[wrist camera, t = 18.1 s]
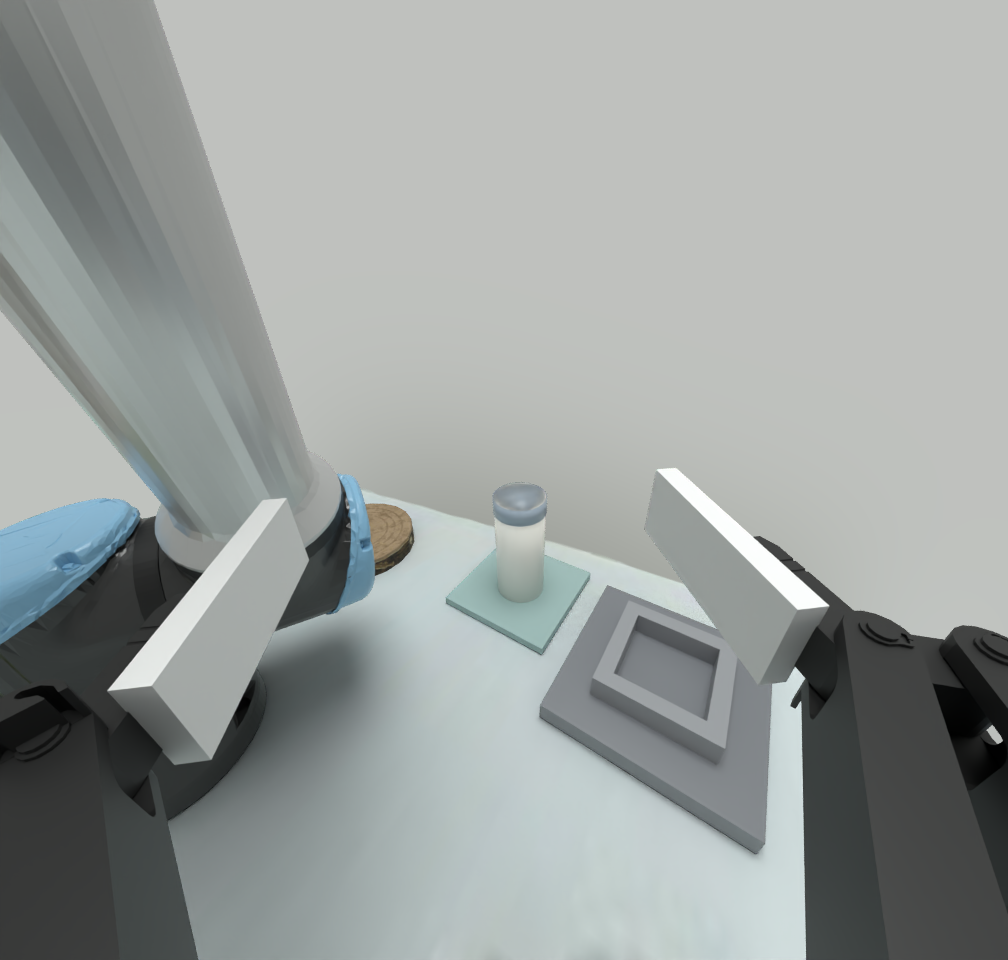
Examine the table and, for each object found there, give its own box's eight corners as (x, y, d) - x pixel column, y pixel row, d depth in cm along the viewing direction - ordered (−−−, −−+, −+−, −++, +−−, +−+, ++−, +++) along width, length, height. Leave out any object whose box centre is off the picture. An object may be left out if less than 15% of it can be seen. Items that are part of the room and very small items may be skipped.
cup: (487, 590, 49) (481, 500, 42) (513, 562, 54) (511, 477, 47) (528, 610, 46) (529, 518, 39) (552, 579, 51) (556, 491, 44)
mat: (446, 603, 49) (445, 597, 48) (505, 544, 59) (505, 539, 59) (541, 654, 42) (541, 649, 42) (589, 578, 52) (590, 572, 52)
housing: (539, 716, 36) (540, 689, 34) (605, 596, 49) (609, 570, 47) (756, 854, 28) (776, 829, 25) (767, 663, 41) (781, 636, 38)
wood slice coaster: (366, 508, 69) (363, 494, 68) (434, 534, 62) (432, 519, 61) (286, 560, 57) (280, 545, 56) (359, 599, 50) (354, 582, 49)
